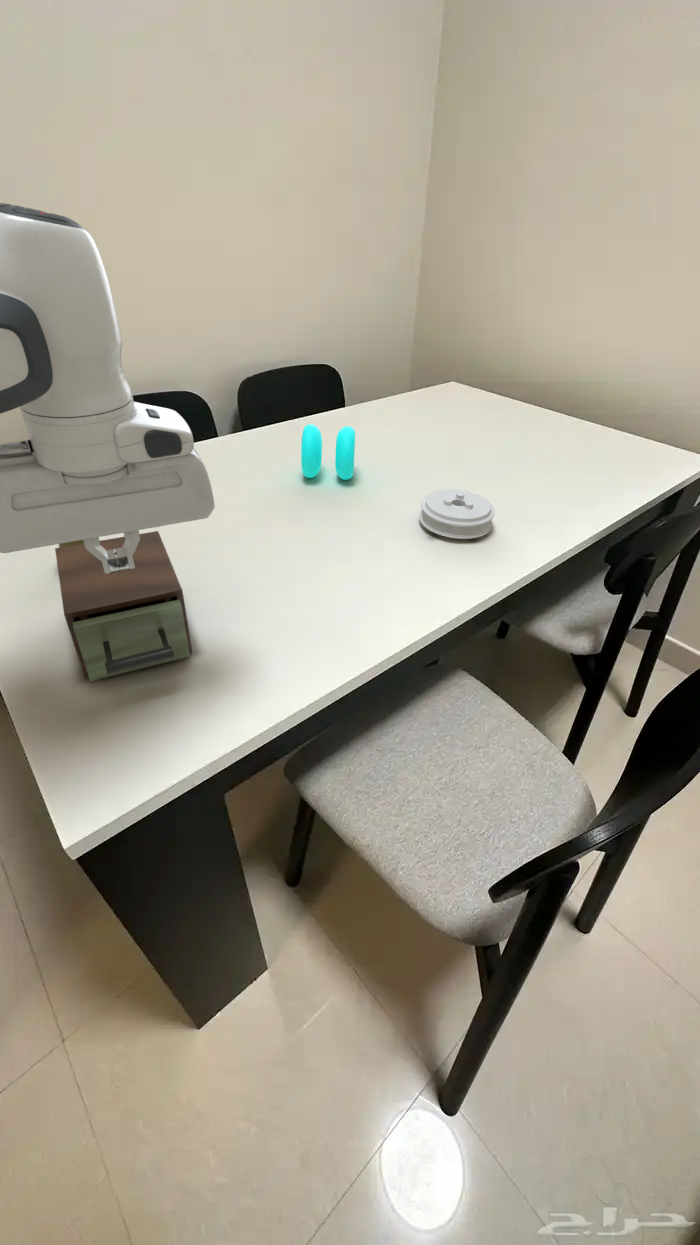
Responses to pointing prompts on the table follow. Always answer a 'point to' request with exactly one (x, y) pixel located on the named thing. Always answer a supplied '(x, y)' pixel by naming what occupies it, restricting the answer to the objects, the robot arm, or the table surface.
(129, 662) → the drawer
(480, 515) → the white grooved pulley wheel
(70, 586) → the cabinet
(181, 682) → the table surface
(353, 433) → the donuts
